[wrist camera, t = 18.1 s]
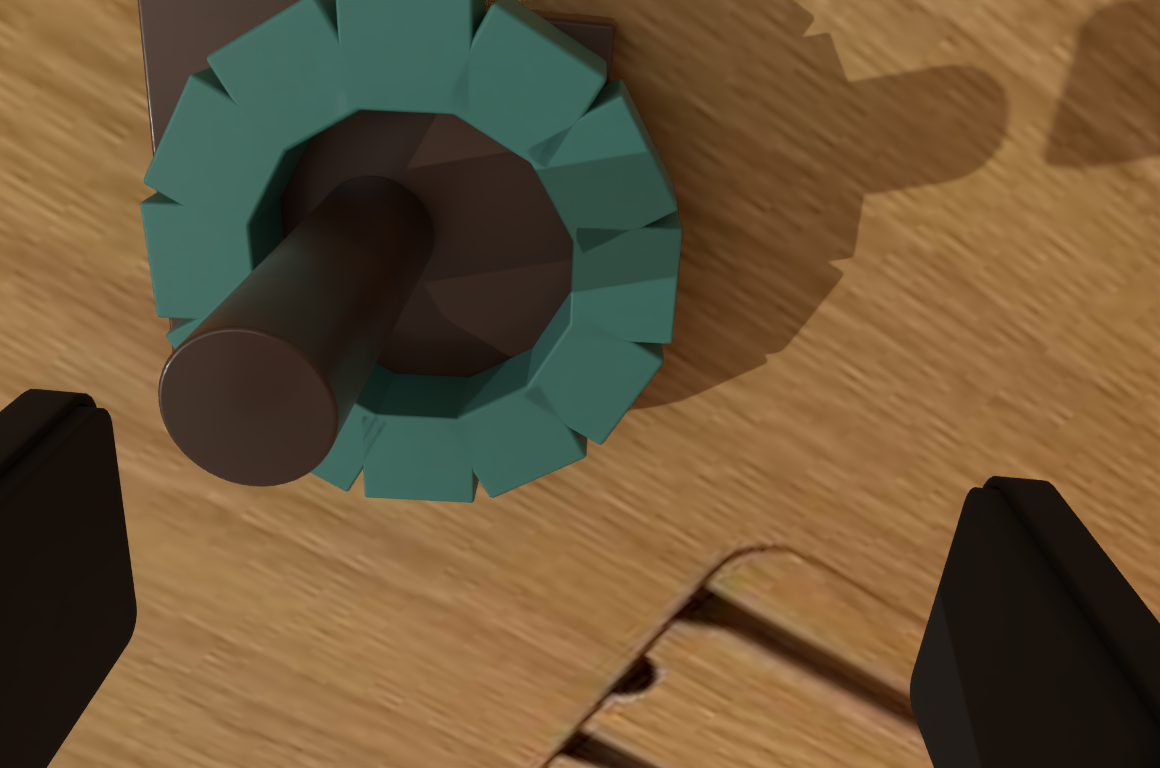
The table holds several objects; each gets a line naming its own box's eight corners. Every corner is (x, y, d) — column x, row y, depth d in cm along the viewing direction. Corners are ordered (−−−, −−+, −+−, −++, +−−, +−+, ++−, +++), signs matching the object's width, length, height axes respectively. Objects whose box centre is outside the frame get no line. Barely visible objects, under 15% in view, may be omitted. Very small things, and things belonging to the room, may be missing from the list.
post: (160, -27, 19) (-177, 20, 11) (615, 17, 20) (619, 96, 11) (196, 384, 23) (-33, 646, 15) (576, 419, 23) (557, 698, 15)
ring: (153, -32, 18) (103, -25, 16) (694, -5, 18) (703, 4, 16) (216, 442, 23) (181, 488, 21) (653, 465, 22) (656, 513, 21)
